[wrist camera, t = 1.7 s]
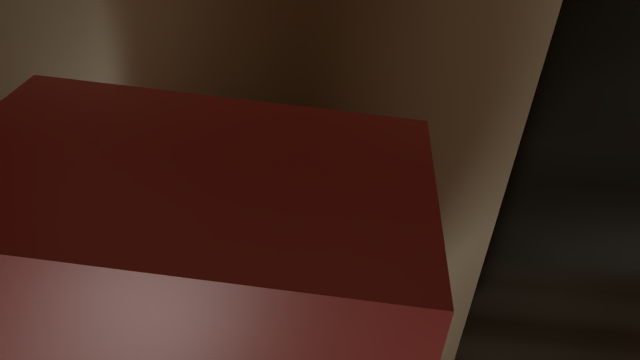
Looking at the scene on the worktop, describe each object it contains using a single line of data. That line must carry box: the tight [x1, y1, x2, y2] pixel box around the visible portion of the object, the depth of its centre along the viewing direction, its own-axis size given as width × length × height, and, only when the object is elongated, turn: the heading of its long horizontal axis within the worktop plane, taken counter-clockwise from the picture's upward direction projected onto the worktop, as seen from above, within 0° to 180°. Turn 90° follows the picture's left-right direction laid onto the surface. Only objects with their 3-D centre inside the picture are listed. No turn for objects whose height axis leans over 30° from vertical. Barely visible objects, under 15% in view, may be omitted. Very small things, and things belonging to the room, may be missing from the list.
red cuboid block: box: [0, 75, 454, 360], centre depth 9 cm, size 6×6×4 cm
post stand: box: [0, 0, 563, 360], centre depth 11 cm, size 10×9×6 cm
